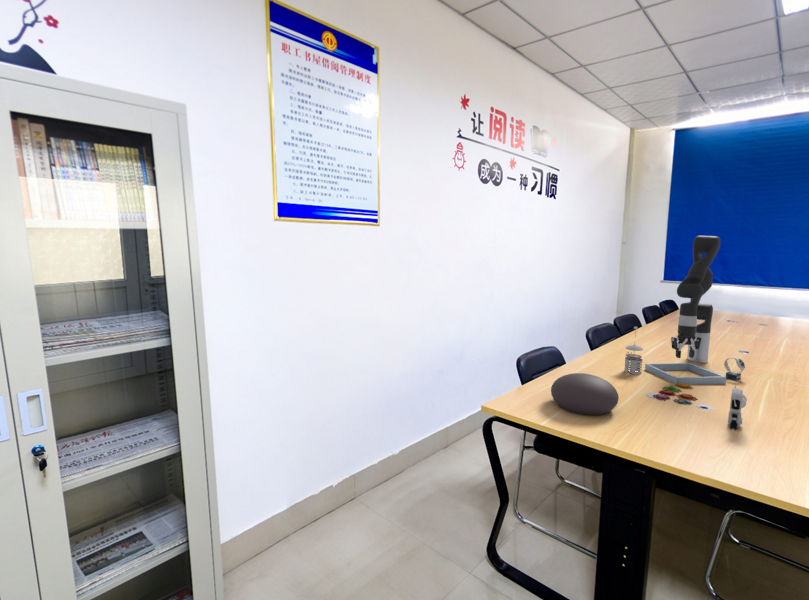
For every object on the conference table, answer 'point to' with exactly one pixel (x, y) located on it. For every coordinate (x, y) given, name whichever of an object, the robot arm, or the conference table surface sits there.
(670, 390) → the gear puzzle
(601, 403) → the smooth stone
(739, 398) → the robot toy
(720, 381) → the grey flat square frame
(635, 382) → the conference table surface
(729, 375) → the watch
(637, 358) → the french press
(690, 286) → the robot arm
